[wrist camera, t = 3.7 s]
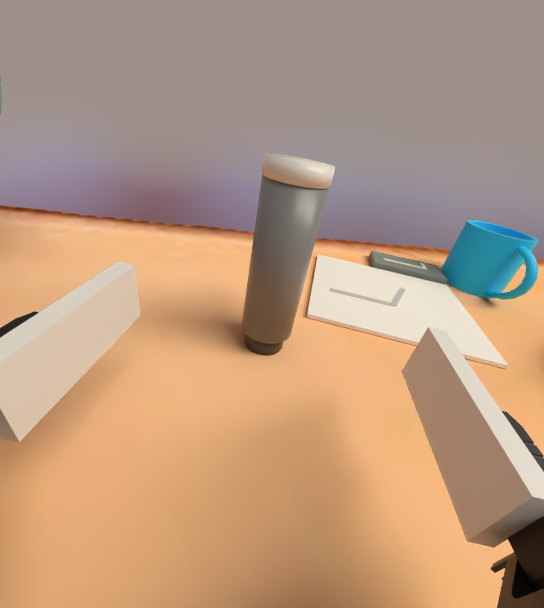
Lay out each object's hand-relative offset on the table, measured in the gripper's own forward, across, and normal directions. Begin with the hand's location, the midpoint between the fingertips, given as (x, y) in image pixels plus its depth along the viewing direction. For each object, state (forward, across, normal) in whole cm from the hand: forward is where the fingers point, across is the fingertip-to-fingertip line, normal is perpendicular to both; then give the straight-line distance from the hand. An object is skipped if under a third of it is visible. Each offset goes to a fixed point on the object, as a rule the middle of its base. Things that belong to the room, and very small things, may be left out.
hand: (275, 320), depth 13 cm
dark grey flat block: (+29, +18, -7) cm, 35 cm away
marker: (+7, 0, -7) cm, 9 cm away
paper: (+18, +13, -7) cm, 23 cm away
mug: (+27, +27, -7) cm, 39 cm away
